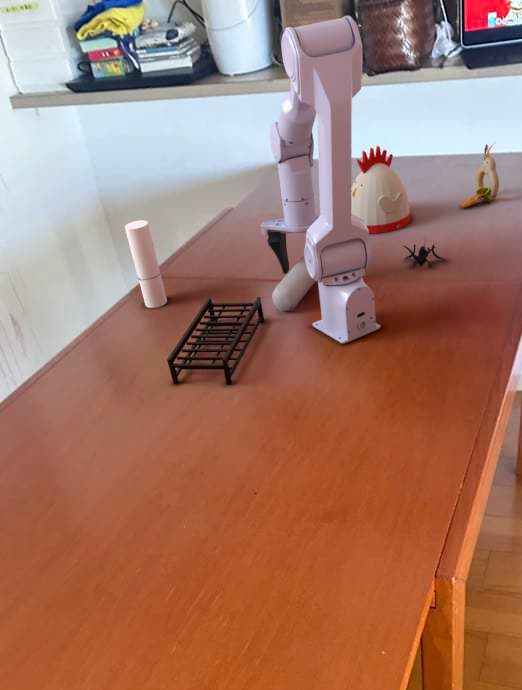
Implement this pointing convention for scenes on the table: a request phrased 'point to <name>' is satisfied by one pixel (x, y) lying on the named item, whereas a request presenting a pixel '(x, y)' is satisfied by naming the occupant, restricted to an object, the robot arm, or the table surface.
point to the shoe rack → (211, 323)
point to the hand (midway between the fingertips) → (306, 271)
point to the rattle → (482, 192)
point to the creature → (422, 255)
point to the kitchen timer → (379, 194)
